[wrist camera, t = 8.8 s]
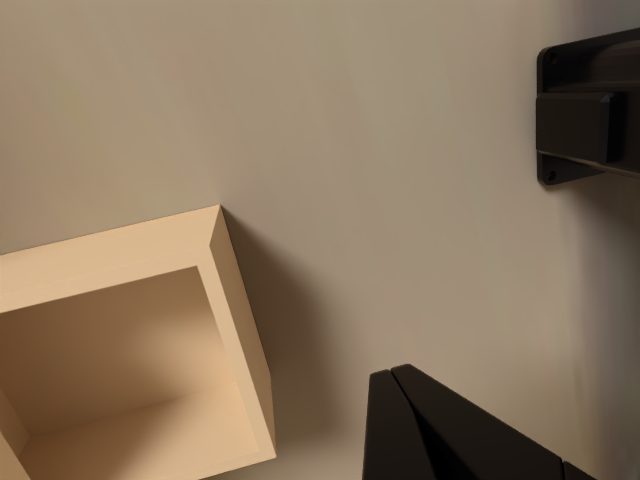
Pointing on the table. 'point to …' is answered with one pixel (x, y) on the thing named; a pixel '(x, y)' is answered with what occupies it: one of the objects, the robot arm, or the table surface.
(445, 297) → the table surface
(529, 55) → the table surface
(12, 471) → the cream angled plate
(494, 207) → the table surface
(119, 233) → the base
